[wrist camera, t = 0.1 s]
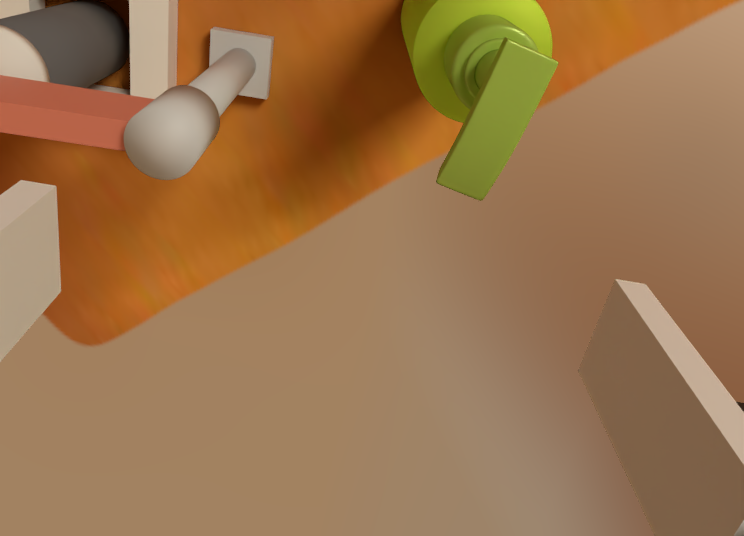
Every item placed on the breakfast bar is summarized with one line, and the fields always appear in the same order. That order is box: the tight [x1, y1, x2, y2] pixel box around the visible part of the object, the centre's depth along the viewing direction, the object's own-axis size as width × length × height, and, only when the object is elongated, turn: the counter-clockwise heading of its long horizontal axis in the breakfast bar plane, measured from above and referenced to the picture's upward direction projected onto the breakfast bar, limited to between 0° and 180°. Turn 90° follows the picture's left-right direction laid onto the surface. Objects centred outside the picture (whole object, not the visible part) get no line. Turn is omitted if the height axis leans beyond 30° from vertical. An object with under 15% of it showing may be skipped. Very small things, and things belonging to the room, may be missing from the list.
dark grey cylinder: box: [0, 0, 130, 88], centre depth 34 cm, size 4×4×12 cm
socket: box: [0, 0, 274, 117], centre depth 34 cm, size 10×16×13 cm, turn 81°
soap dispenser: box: [401, 0, 558, 201], centre depth 30 cm, size 6×7×20 cm
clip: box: [0, 75, 220, 180], centre depth 26 cm, size 3×14×4 cm, turn 81°
